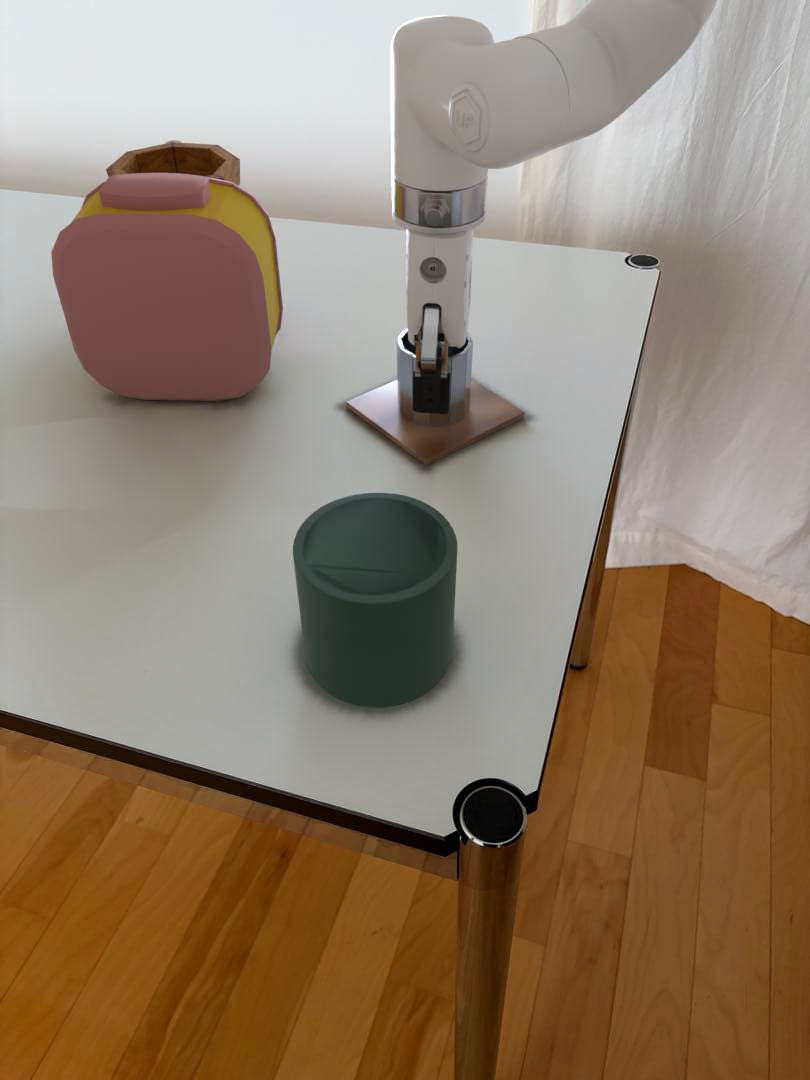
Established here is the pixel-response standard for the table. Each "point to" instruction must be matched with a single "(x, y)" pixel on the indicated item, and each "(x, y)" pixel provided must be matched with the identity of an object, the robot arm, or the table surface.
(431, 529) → the dark green cylinder
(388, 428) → the coaster mat
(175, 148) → the mug
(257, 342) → the alarm clock
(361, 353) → the table surface
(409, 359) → the cup
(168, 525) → the table surface
